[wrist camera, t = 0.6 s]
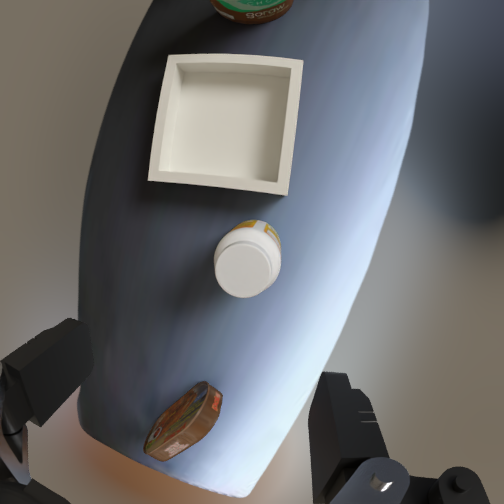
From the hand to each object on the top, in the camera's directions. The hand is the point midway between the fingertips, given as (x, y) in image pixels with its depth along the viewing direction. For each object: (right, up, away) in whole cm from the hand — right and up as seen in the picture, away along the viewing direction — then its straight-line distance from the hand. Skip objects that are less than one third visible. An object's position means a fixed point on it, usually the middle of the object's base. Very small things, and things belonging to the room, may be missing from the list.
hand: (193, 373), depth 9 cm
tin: (-7, -17, +27) cm, 33 cm away
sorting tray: (0, +17, +19) cm, 25 cm away
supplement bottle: (+2, +5, +21) cm, 22 cm away
